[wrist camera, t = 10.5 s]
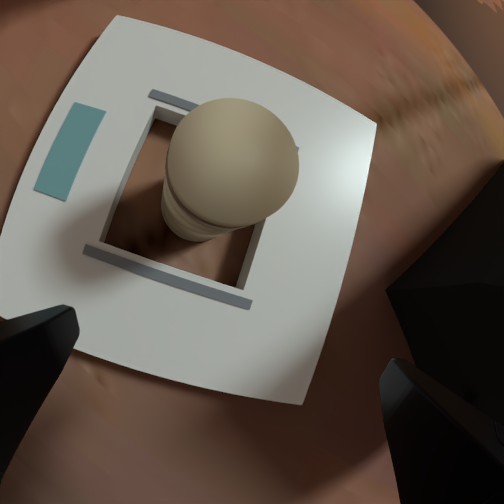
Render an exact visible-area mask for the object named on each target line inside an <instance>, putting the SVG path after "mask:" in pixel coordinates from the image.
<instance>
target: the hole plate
mask: <svg viewBox="0 0 504 504" xmlns="http://www.w3.org/2000/svg"><path fill="white" fill-rule="evenodd" d="M221 98H239V99H244V100H248V101H251V102H254V103H256V104H259V105H261V106H263V107H264V108H266V109H268V110H269V111H271V112H272V113H273V114H275V115H276V116H277V117H278V118H279V119H280V120H281V121H282V122H283V124H284V125H285V126H286V127H287V129H288V130H289V132H290V133H291V135H292V137H293V139H294V142H295V145H296V147H297V151H298V156H299V174H298V180H297V183H296V186H295V188H294V191H293V193H292V195H291V196H290V198H289V199H288V201H287V202H286V203H285V204H284V205H283V206H282V207H281V208H280V209H279V210H278V211H277V212H275V213H274V214H272V215H271V216H269V217H267V218H265V219H263V220H262V221H260V222H258V223H256V224H255V227H254V230H253V233H252V237H251V240H250V243H249V246H248V249H247V252H246V255H245V259H244V262H243V265H242V268H241V271H240V274H239V277H238V281H237V284H236V287H235V288H234V287H231V286H228V285H225V284H222V283H219V282H216V281H213V280H210V279H207V278H204V277H201V276H197V275H194V274H191V273H188V272H185V271H183V270H180V269H177V268H174V267H171V266H168V265H165V264H162V263H159V262H156V261H153V260H150V259H147V258H145V257H142V256H139V255H136V254H133V253H130V252H128V251H125V250H122V249H119V248H116V247H114V246H111V245H108V244H105V243H104V242H105V239H106V236H107V233H108V230H109V227H110V224H111V222H112V219H113V216H114V213H115V211H116V208H117V205H118V203H119V200H120V197H121V195H122V192H123V190H124V187H125V185H126V182H127V180H128V177H129V175H130V173H131V170H132V168H133V166H134V163H135V161H136V159H137V156H138V154H139V152H140V150H141V147H142V145H143V143H144V141H145V139H146V136H147V134H148V132H149V130H150V128H151V126H152V124H153V122H154V120H155V118H156V119H159V120H161V121H164V122H167V123H170V124H173V125H176V126H178V124H179V123H180V121H181V120H182V119H183V118H184V117H185V116H186V115H187V114H188V113H189V112H190V111H191V110H193V109H194V108H196V107H197V106H199V105H201V104H203V103H205V102H208V101H211V100H215V99H221ZM376 126H377V124H376V123H375V122H373V121H371V120H370V119H368V118H367V117H365V116H363V115H362V114H360V113H358V112H357V111H355V110H353V109H352V108H350V107H348V106H347V105H345V104H343V103H341V102H340V101H338V100H336V99H334V98H333V97H331V96H329V95H327V94H325V93H323V92H322V91H320V90H318V89H316V88H314V87H312V86H310V85H308V84H306V83H304V82H302V81H300V80H298V79H296V78H294V77H292V76H290V75H288V74H286V73H284V72H282V71H280V70H278V69H275V68H273V67H271V66H269V65H267V64H264V63H262V62H260V61H258V60H255V59H253V58H251V57H248V56H246V55H243V54H241V53H238V52H236V51H233V50H231V49H228V48H226V47H223V46H220V45H218V44H215V43H212V42H209V41H207V40H204V39H201V38H198V37H195V36H192V35H189V34H186V33H183V32H179V31H176V30H173V29H169V28H166V27H163V26H159V25H155V24H152V23H148V22H144V21H140V20H136V19H132V18H127V17H123V16H118V15H117V16H116V17H115V18H114V19H113V20H112V22H111V23H110V24H109V26H108V27H107V28H106V29H105V31H104V32H103V33H102V35H101V36H100V37H99V39H98V40H97V41H96V43H95V44H94V45H93V47H92V48H91V50H90V51H89V53H88V54H87V55H86V57H85V58H84V60H83V61H82V63H81V64H80V66H79V67H78V69H77V70H76V72H75V73H74V75H73V77H72V78H71V80H70V81H69V83H68V85H67V86H66V88H65V90H64V91H63V93H62V95H61V96H60V98H59V100H58V102H57V103H56V105H55V107H54V109H53V111H52V112H51V114H50V116H49V118H48V120H47V122H46V124H45V126H44V128H43V130H42V132H41V134H40V136H39V138H38V140H37V142H36V144H35V146H34V148H33V150H32V153H31V155H30V157H29V159H28V162H27V164H26V166H25V169H24V171H23V173H22V176H21V178H20V181H19V183H18V186H17V188H16V191H15V194H14V196H13V199H12V202H11V205H10V208H9V211H8V214H7V217H6V220H5V223H4V226H3V229H2V232H1V236H0V316H1V317H3V318H5V319H7V320H8V319H11V318H15V317H18V316H22V315H25V314H29V313H33V312H36V311H40V310H43V309H47V308H50V307H54V306H57V305H61V304H64V305H68V306H71V307H73V308H74V309H75V311H76V315H77V319H78V323H79V328H80V334H79V337H78V340H77V342H76V344H75V346H74V349H77V350H79V351H82V352H85V353H87V354H90V355H93V356H96V357H99V358H102V359H104V360H107V361H110V362H113V363H116V364H119V365H123V366H126V367H129V368H132V369H135V370H139V371H142V372H145V373H149V374H152V375H156V376H159V377H163V378H167V379H170V380H174V381H178V382H182V383H186V384H190V385H194V386H198V387H203V388H207V389H212V390H216V391H221V392H226V393H230V394H236V395H241V396H246V397H252V398H257V399H263V400H269V401H276V402H282V403H289V404H297V405H302V404H303V401H304V399H305V396H306V393H307V391H308V388H309V385H310V382H311V379H312V377H313V374H314V371H315V368H316V365H317V362H318V359H319V356H320V353H321V350H322V347H323V344H324V341H325V338H326V335H327V332H328V329H329V325H330V322H331V319H332V316H333V312H334V309H335V306H336V302H337V299H338V295H339V292H340V288H341V285H342V281H343V277H344V274H345V270H346V266H347V263H348V259H349V255H350V251H351V247H352V243H353V239H354V235H355V231H356V227H357V222H358V218H359V214H360V209H361V205H362V200H363V195H364V191H365V186H366V181H367V176H368V171H369V166H370V160H371V155H372V150H373V144H374V138H375V132H376Z"/></svg>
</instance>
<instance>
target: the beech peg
mask: <svg viewBox="0 0 504 504" xmlns="http://www.w3.org/2000/svg"><path fill="white" fill-rule="evenodd" d="M165 169H166V172H165V178H164V185H163V192H162V199H161V211H162V216H163V219H164V221H165V223H166V225H167V226H168V227H169V229H170V230H171V231H172V232H173V233H174V234H176V235H177V236H178V237H180V238H182V239H185V240H188V241H192V242H203V241H208V240H211V239H213V238H216V237H218V236H221V235H224V234H226V233H229V232H231V231H234V230H236V229H239V228H244V227H247V226H250V225H253V224H255V223H258V222H260V221H262V220H263V219H265V218H267V217H269V216H271V215H272V214H274V213H275V212H277V211H278V210H279V209H280V208H281V207H282V206H283V205H284V204H285V203H286V202H287V201H288V199H289V198H290V196H291V195H292V193H293V191H294V188H295V186H296V183H297V180H298V174H299V156H298V151H297V147H296V145H295V142H294V139H293V137H292V135H291V133H290V132H289V130H288V129H287V127H286V126H285V125H284V124H283V122H282V121H281V120H280V119H279V118H278V117H277V116H276V115H275V114H273V113H272V112H271V111H269V110H268V109H266V108H264V107H263V106H261V105H259V104H256V103H254V102H251V101H248V100H244V99H239V98H221V99H215V100H211V101H208V102H205V103H203V104H201V105H199V106H197V107H196V108H194V109H193V110H191V111H190V112H189V113H188V114H187V115H186V116H185V117H184V118H183V119H182V120H181V121H180V123H179V124H178V126H177V127H176V129H175V131H174V134H173V136H172V139H171V142H170V145H169V148H168V151H167V157H166V165H165Z"/></svg>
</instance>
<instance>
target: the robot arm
mask: <svg viewBox="0 0 504 504" xmlns="http://www.w3.org/2000/svg"><path fill="white" fill-rule="evenodd" d="M79 334H80V328H79V323H78V319H77V315H76V311H75V309H74V308H73V307H71V306H68V305H64V304H61V305H57V306H54V307H50V308H47V309H43V310H40V311H36V312H33V313H29V314H25V315H22V316H18V317H15V318H11V319H8V320H4V321H1V322H0V483H1V480H2V478H3V475H4V473H5V471H6V469H7V467H8V465H9V463H10V461H11V460H12V458H13V456H14V454H15V452H16V450H17V448H18V446H19V444H20V442H21V441H22V439H23V437H24V435H25V433H26V431H27V430H28V428H29V426H30V424H31V422H32V421H33V419H34V417H35V415H36V414H37V412H38V410H39V409H40V407H41V405H42V403H43V402H44V400H45V398H46V397H47V395H48V393H49V392H50V390H51V389H52V387H53V385H54V384H55V382H56V380H57V379H58V377H59V375H60V374H61V372H62V370H63V368H64V366H65V364H66V362H67V360H68V358H69V356H70V354H71V352H72V350H73V348H74V346H75V344H76V342H77V340H78V337H79ZM379 390H380V397H381V405H382V413H383V421H384V427H385V432H386V436H387V440H388V445H389V449H390V454H391V458H392V463H393V468H394V472H395V477H396V482H397V487H398V492H399V498H400V503H401V504H504V426H502V425H501V424H499V423H498V422H496V421H494V420H493V419H491V418H490V417H488V416H487V415H485V414H484V413H483V412H481V411H480V410H478V409H477V408H475V407H474V406H472V405H471V404H469V403H468V402H467V401H465V400H464V399H462V398H461V397H459V396H458V395H456V394H455V393H453V392H452V391H451V390H449V389H448V388H446V387H445V386H443V385H442V384H440V383H439V382H437V381H436V380H435V379H433V378H432V377H430V376H429V375H427V374H426V373H424V372H423V371H421V370H420V369H419V368H417V367H416V366H414V365H413V364H411V363H410V362H408V361H407V360H405V359H398V358H393V359H391V360H390V362H389V363H388V365H387V367H386V369H385V370H384V372H383V374H382V375H381V377H380V380H379Z"/></svg>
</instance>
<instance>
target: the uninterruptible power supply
mask: <svg viewBox="0 0 504 504" xmlns="http://www.w3.org/2000/svg"><path fill="white" fill-rule="evenodd" d="M386 293H387V295H388V297H389V300H390V302H391V304H392V306H393V309H394V311H395V314H396V316H397V318H398V321H399V323H400V326H401V328H402V330H403V333H404V335H405V338H406V341H407V343H408V346H409V348H410V351H411V353H412V356H413V359H414V361H415V364H416V367H417V368H419V369H420V370H421V371H423V372H424V373H426V374H427V375H429V376H430V377H432V378H433V379H435V380H436V381H437V382H439V383H440V384H442V385H443V386H445V387H446V388H448V389H449V390H451V391H452V392H453V393H455V394H456V395H458V396H459V397H461V398H462V399H464V400H465V401H467V402H468V403H469V404H471V405H472V406H474V407H475V408H477V409H478V410H480V411H481V412H483V413H484V414H485V415H487V416H488V417H490V418H491V419H493V420H494V421H496V422H498V423H499V424H501V425H502V426H504V163H503V165H502V166H501V167H500V168H499V170H498V171H497V172H496V173H495V175H494V176H493V177H492V178H491V179H490V181H489V182H488V183H487V184H486V186H485V187H484V188H483V189H482V190H481V192H480V193H479V194H478V195H477V196H476V197H475V199H474V200H473V201H472V202H471V203H470V204H469V205H468V207H467V208H466V209H465V210H464V211H463V212H462V213H461V214H460V216H459V217H458V218H457V219H456V220H455V221H454V222H453V223H452V224H451V225H450V226H449V228H448V229H447V230H446V231H445V232H444V233H443V234H442V235H441V236H440V237H439V238H438V239H437V240H436V241H435V242H434V243H433V244H432V245H431V246H430V247H429V248H428V249H427V250H426V251H425V252H424V253H423V254H422V255H421V256H420V257H419V258H418V259H417V260H416V261H415V262H414V263H413V264H412V265H411V266H410V267H409V268H408V269H407V270H406V271H405V272H404V273H403V274H402V275H401V276H400V277H399V278H398V279H397V280H396V281H395V282H394V283H392V284H391V285H390V286H389V287H388V288H387V289H386Z"/></svg>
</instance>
